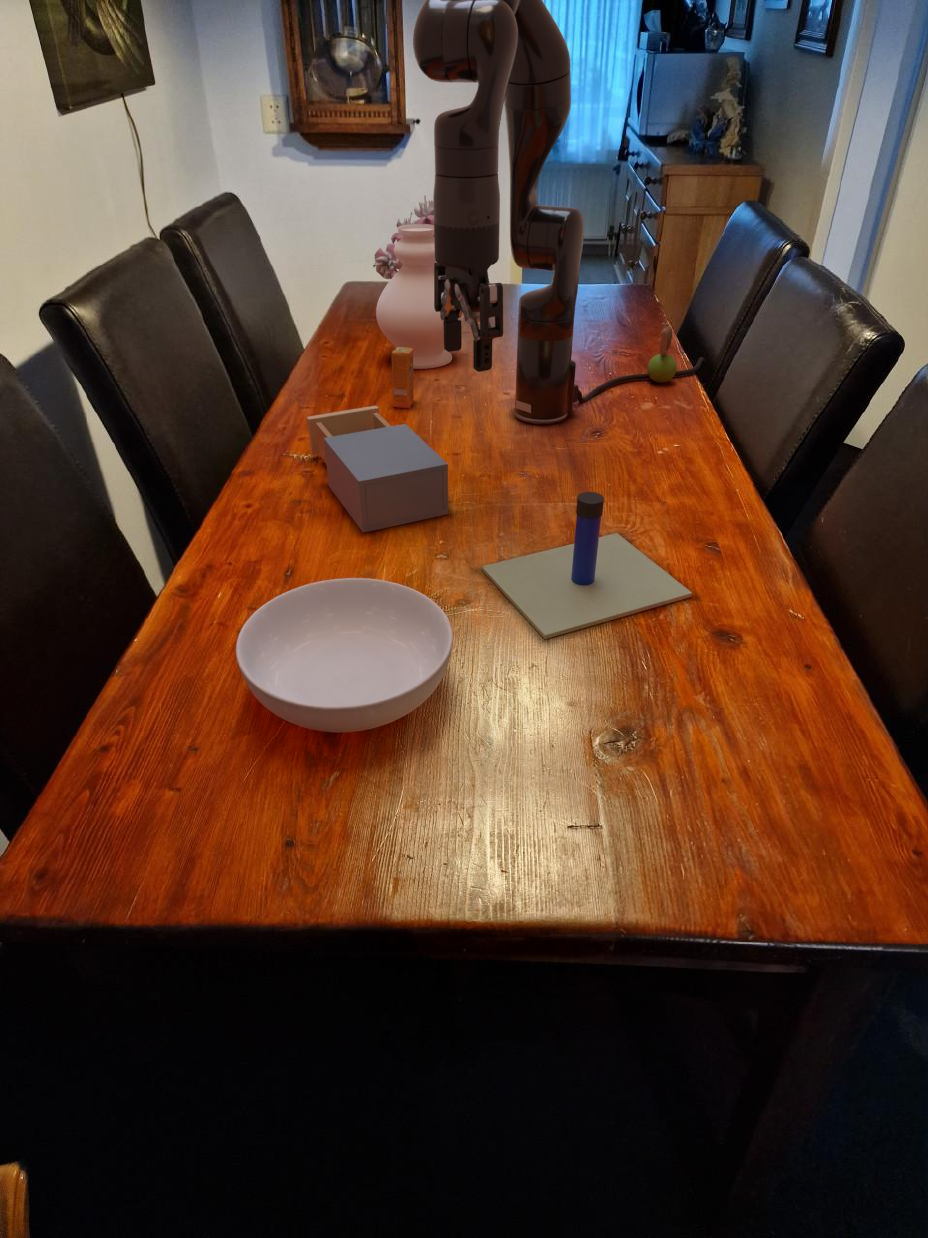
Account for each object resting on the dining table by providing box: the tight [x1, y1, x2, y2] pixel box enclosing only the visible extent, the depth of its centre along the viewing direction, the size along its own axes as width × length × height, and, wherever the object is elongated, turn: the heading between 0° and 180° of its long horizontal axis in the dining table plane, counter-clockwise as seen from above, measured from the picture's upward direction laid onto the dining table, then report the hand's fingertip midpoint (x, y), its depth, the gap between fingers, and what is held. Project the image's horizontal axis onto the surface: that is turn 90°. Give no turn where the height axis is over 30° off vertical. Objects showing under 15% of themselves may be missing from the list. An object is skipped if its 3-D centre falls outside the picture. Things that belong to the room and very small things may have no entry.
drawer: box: [306, 405, 392, 464], centre depth 125 cm, size 19×11×6 cm, turn 25°
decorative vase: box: [375, 223, 465, 370], centre depth 162 cm, size 18×18×25 cm
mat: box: [481, 532, 693, 640], centre depth 99 cm, size 20×16×1 cm
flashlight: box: [571, 491, 605, 585], centre depth 96 cm, size 3×3×11 cm
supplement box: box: [391, 347, 414, 409], centre depth 145 cm, size 3×3×10 cm
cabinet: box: [323, 423, 449, 534], centre depth 115 cm, size 16×13×8 cm
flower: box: [372, 195, 434, 280], centre depth 193 cm, size 20×22×25 cm
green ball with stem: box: [646, 322, 678, 384], centre depth 154 cm, size 5×6×12 cm
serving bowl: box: [235, 577, 454, 733], centre depth 81 cm, size 21×21×7 cm
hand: (467, 359), depth 102 cm, fingers open, 8 cm apart
